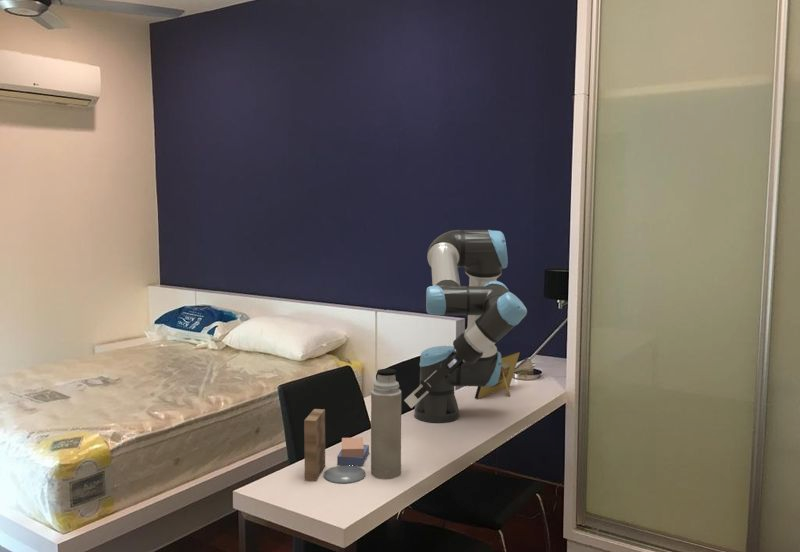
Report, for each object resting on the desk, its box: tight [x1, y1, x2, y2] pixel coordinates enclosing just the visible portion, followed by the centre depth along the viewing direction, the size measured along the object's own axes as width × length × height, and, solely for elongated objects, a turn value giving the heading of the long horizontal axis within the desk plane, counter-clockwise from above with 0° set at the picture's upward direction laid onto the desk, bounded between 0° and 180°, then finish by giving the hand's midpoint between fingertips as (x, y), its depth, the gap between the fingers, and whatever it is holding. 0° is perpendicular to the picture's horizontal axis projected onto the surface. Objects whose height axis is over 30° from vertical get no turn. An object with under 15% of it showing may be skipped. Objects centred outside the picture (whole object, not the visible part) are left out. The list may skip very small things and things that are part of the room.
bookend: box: [303, 408, 326, 482], centre depth 181 cm, size 10×3×16 cm, turn 172°
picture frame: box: [474, 350, 521, 400], centre depth 257 cm, size 23×9×15 cm, turn 141°
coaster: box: [323, 465, 367, 485], centre depth 181 cm, size 11×11×1 cm
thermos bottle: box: [370, 368, 402, 480], centre depth 181 cm, size 8×8×28 cm
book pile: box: [336, 437, 370, 467], centre depth 192 cm, size 10×8×5 cm
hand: (415, 396), depth 177 cm, fingers open, 13 cm apart
